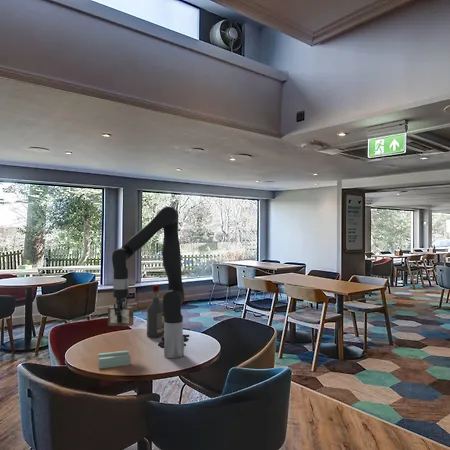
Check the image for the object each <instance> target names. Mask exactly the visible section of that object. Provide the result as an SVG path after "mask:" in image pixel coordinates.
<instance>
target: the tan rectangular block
mask: <svg viewBox="0 0 450 450" xmlns="http://www.w3.org/2000/svg"><path fill="white" fill-rule="evenodd" d="M120 309H121V308H120ZM118 312H119V311H118ZM133 325H134V306H127V307H123V310H122V322H121V323H117V315H115V310H114V305H113V306H111V305H110V306H109V307H107V327H110V326H111V327H113V326H115V327H132V326H133Z"/></svg>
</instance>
